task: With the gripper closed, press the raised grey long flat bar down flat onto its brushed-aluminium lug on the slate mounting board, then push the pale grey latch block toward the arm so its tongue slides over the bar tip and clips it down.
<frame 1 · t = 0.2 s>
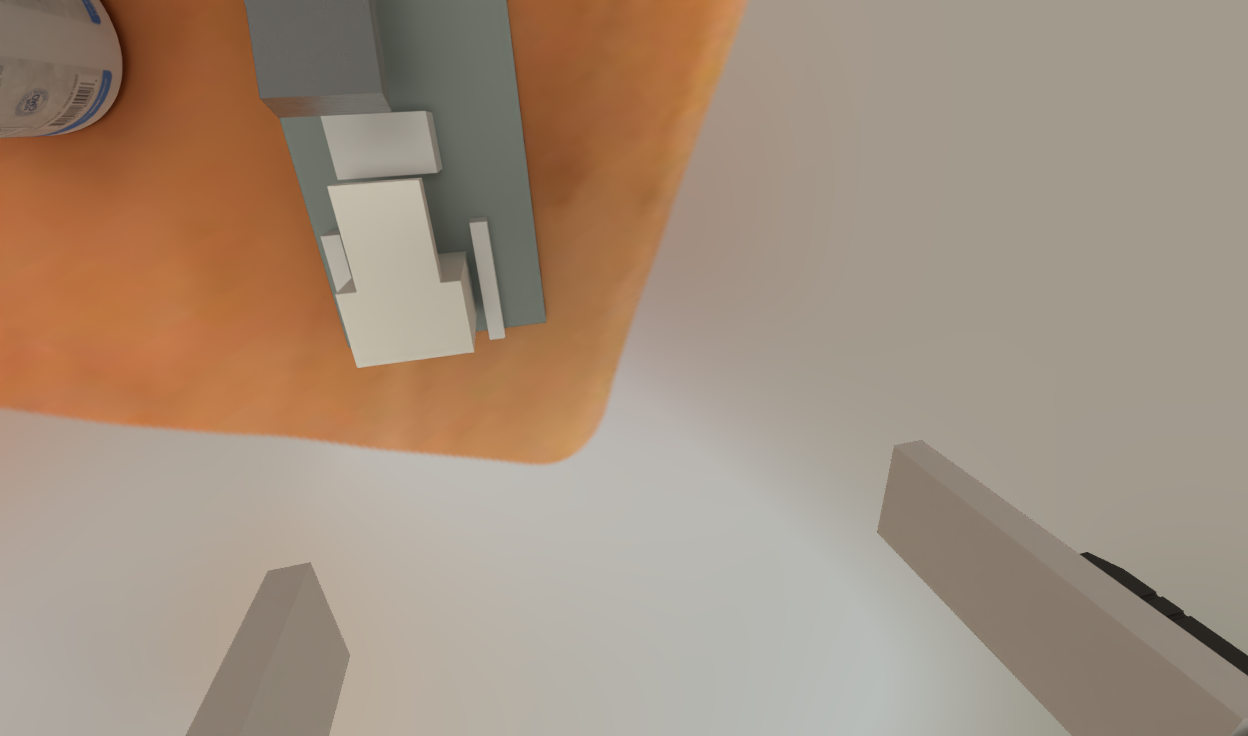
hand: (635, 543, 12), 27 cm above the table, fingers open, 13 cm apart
supplement tub: (17, 33, 26), on the table
latch: (407, 261, 29), point 5 cm above the table, slide at 0.0 cm
mount: (399, 76, 30), on the table
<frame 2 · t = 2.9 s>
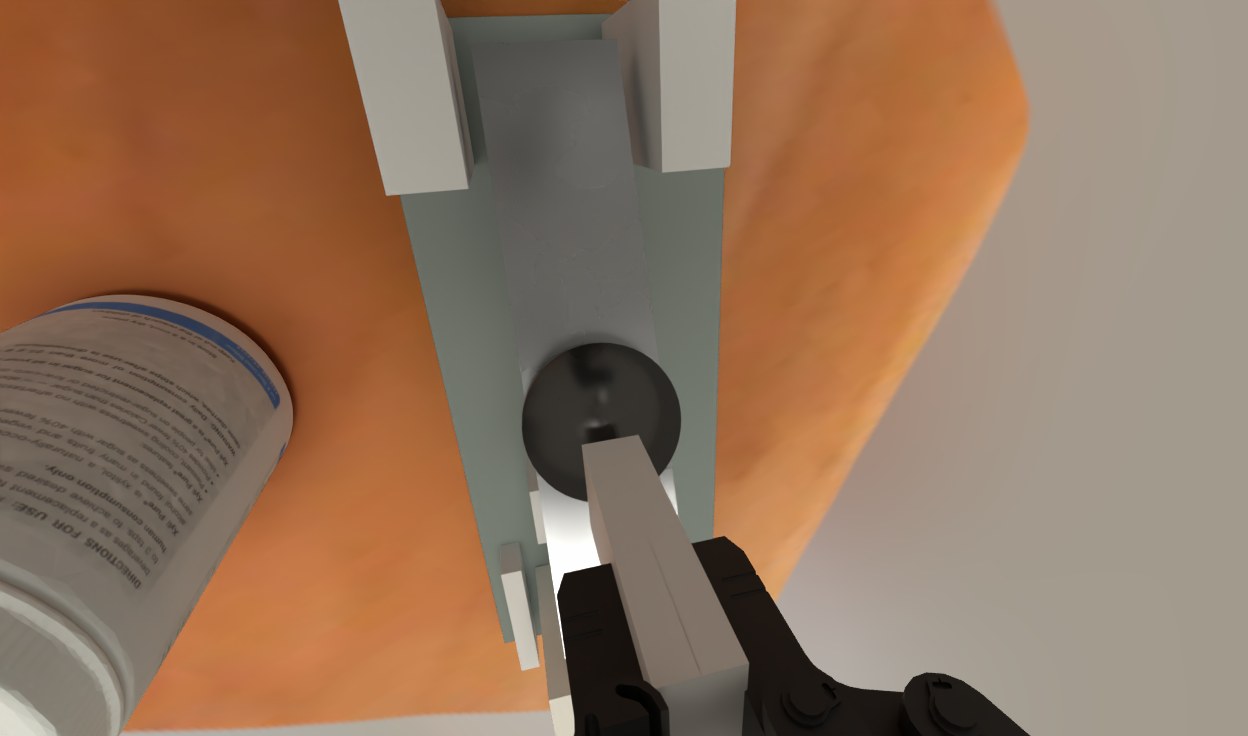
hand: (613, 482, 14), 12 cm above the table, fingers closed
supplement tub: (175, 396, 22), on the table
latch: (600, 604, 26), point 5 cm above the table, slide at 0.0 cm
mount: (587, 387, 26), on the table
grey long flat bar: (589, 358, 15), point 9 cm above the table, hinge at 21.4°, touching gripper
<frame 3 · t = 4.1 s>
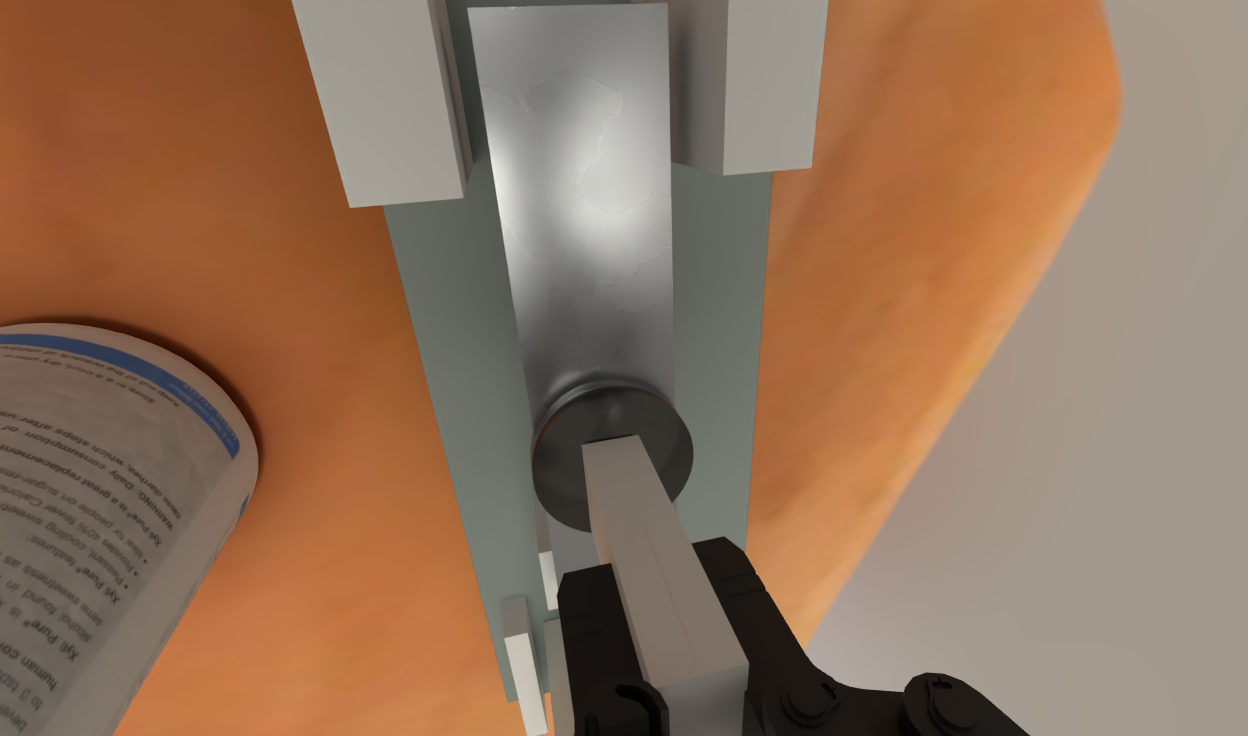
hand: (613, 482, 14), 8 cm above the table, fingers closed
supplement tub: (117, 439, 19), on the table
latch: (619, 672, 22), point 5 cm above the table, slide at 0.0 cm
mount: (604, 421, 23), on the table
grey long flat bar: (602, 390, 14), point 7 cm above the table, hinge at 1.3°, touching gripper
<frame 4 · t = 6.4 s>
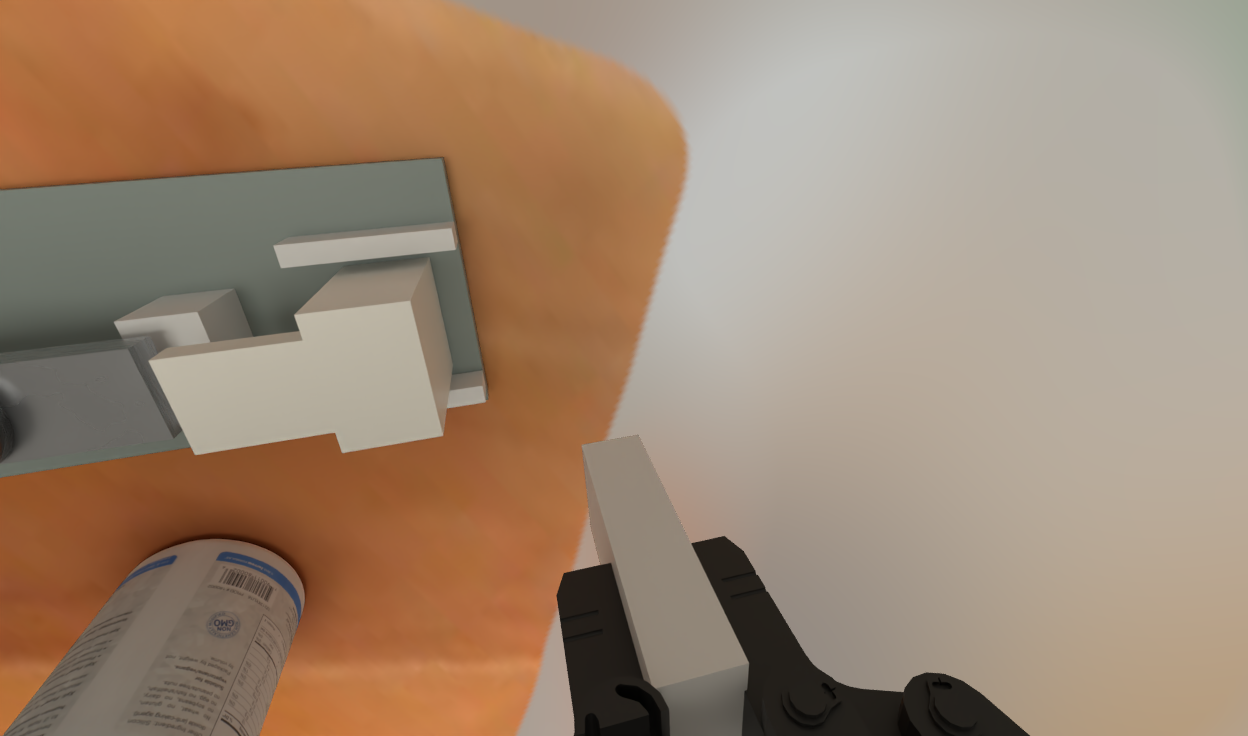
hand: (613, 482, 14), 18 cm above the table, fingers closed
supplement tub: (226, 588, 33), on the table
latch: (331, 353, 23), point 5 cm above the table, slide at 0.0 cm
mount: (142, 323, 26), on the table
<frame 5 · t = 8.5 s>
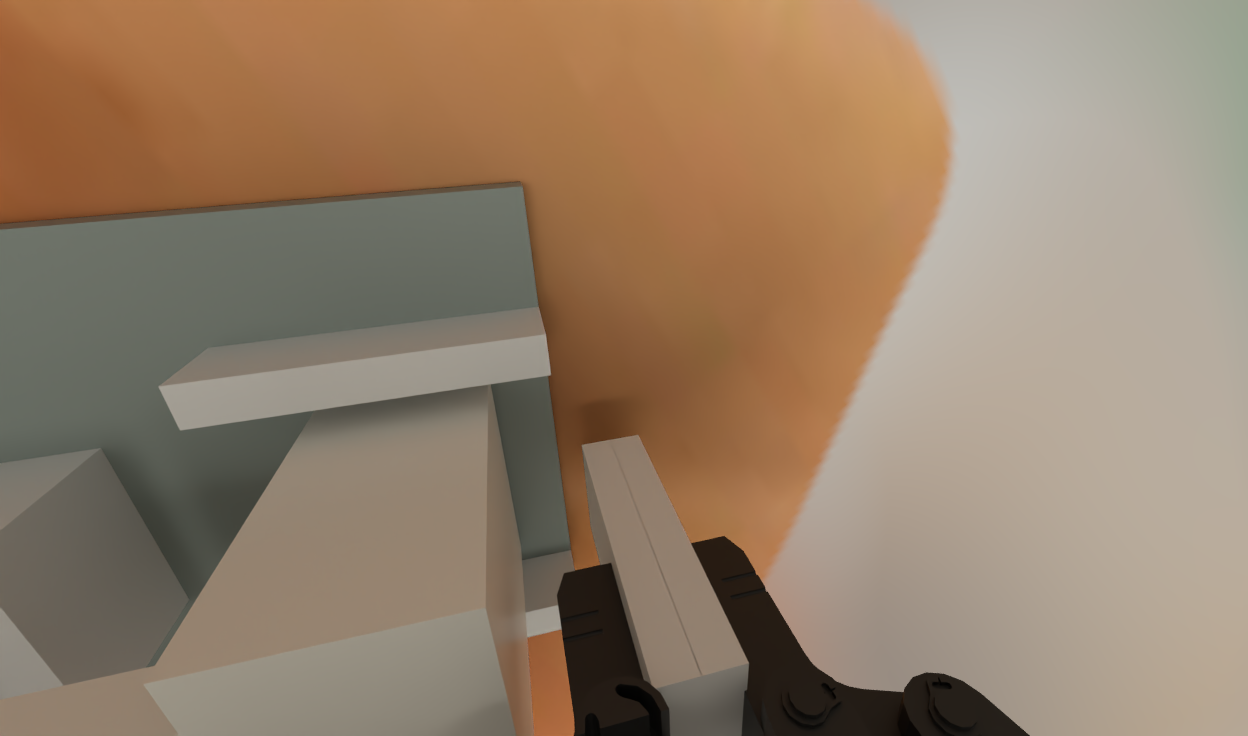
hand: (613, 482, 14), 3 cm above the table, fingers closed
latch: (289, 611, 11), point 5 cm above the table, slide at 0.0 cm, touching gripper
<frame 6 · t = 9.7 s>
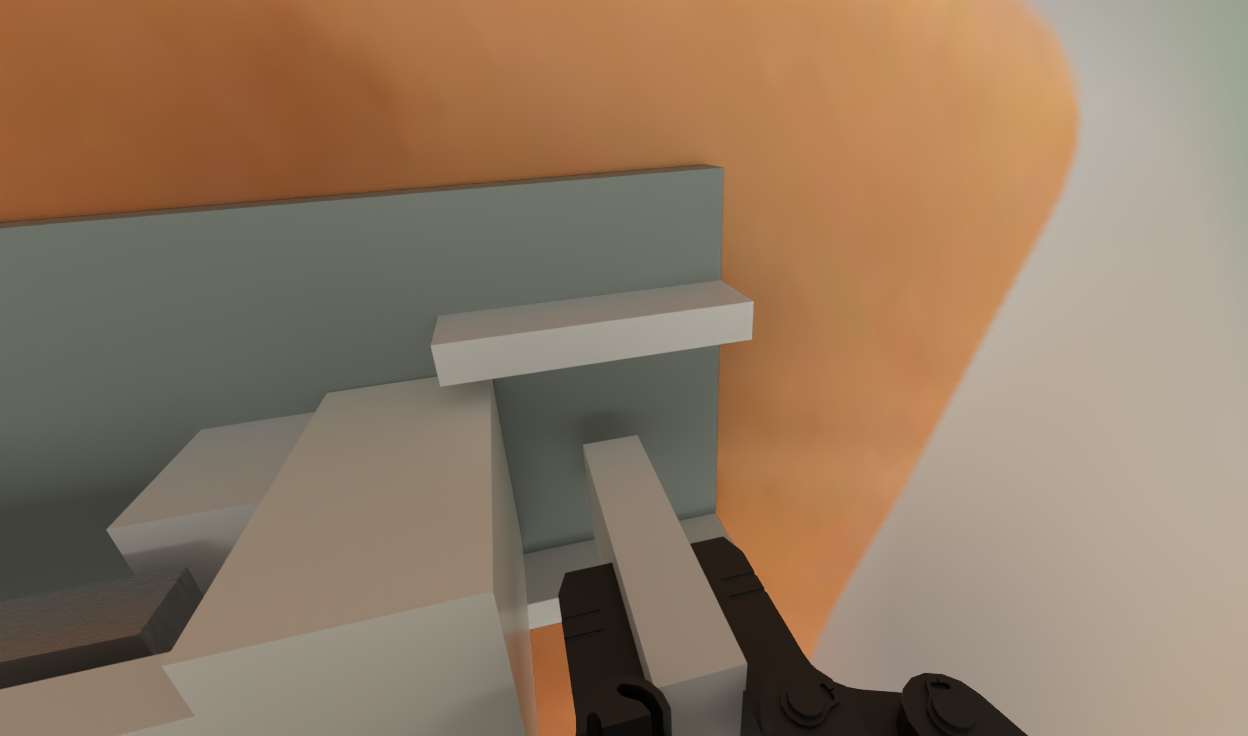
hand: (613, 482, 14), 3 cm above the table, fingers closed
latch: (295, 603, 11), point 5 cm above the table, slide at 5.0 cm, touching gripper, mount
mount: (162, 466, 14), on the table
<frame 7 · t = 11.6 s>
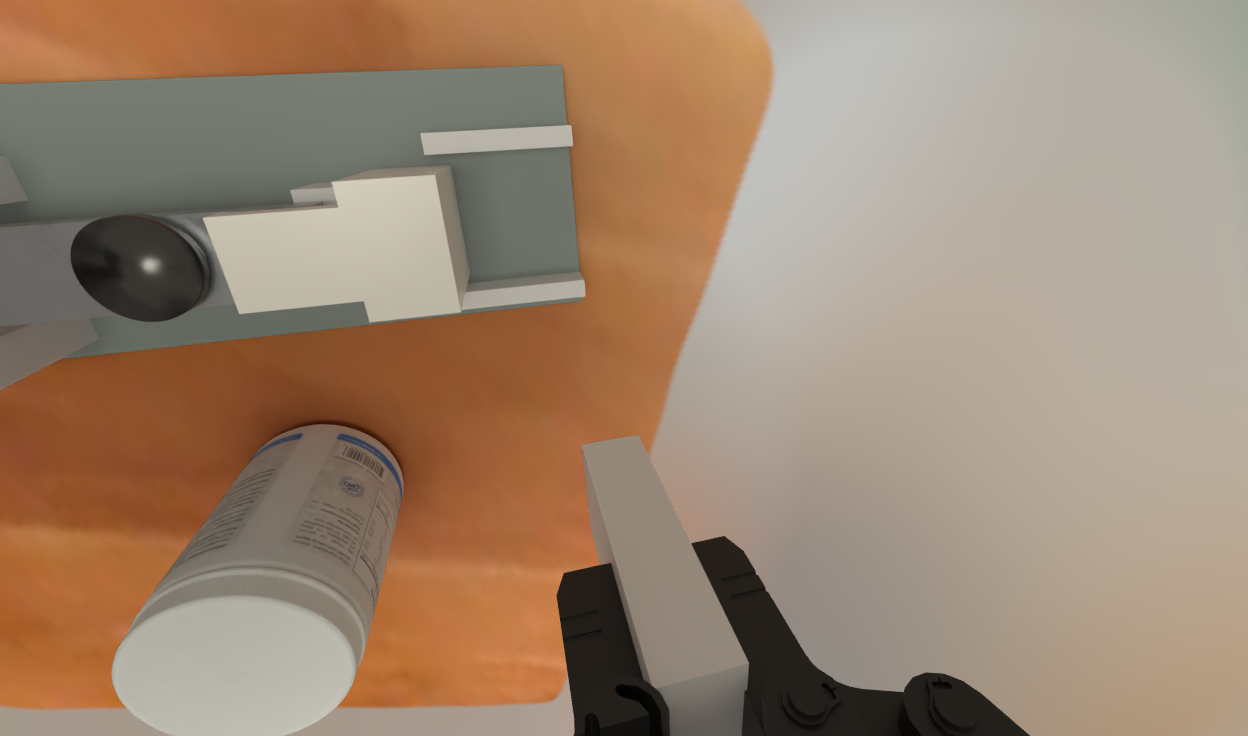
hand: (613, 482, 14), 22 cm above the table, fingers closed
supplement tub: (334, 476, 36), on the table
latch: (360, 240, 25), point 5 cm above the table, slide at 5.0 cm, touching mount
mount: (290, 212, 29), on the table
grey long flat bar: (109, 268, 22), point 7 cm above the table, hinge at 1.3°
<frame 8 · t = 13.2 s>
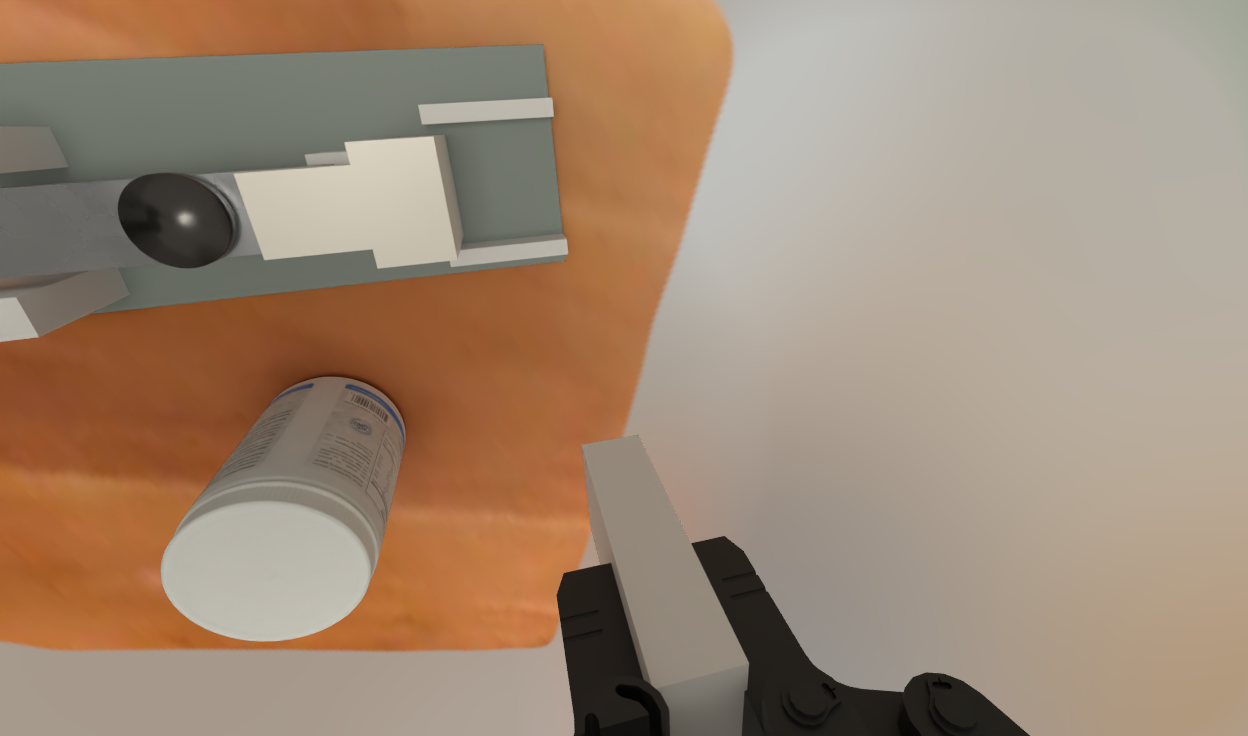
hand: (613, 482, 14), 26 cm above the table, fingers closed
supplement tub: (341, 427, 39), on the table
latch: (366, 200, 29), point 5 cm above the table, slide at 5.0 cm, touching mount
mount: (301, 179, 32), on the table
grey long flat bar: (148, 222, 26), point 7 cm above the table, hinge at 1.3°
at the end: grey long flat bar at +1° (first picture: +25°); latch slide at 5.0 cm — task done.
